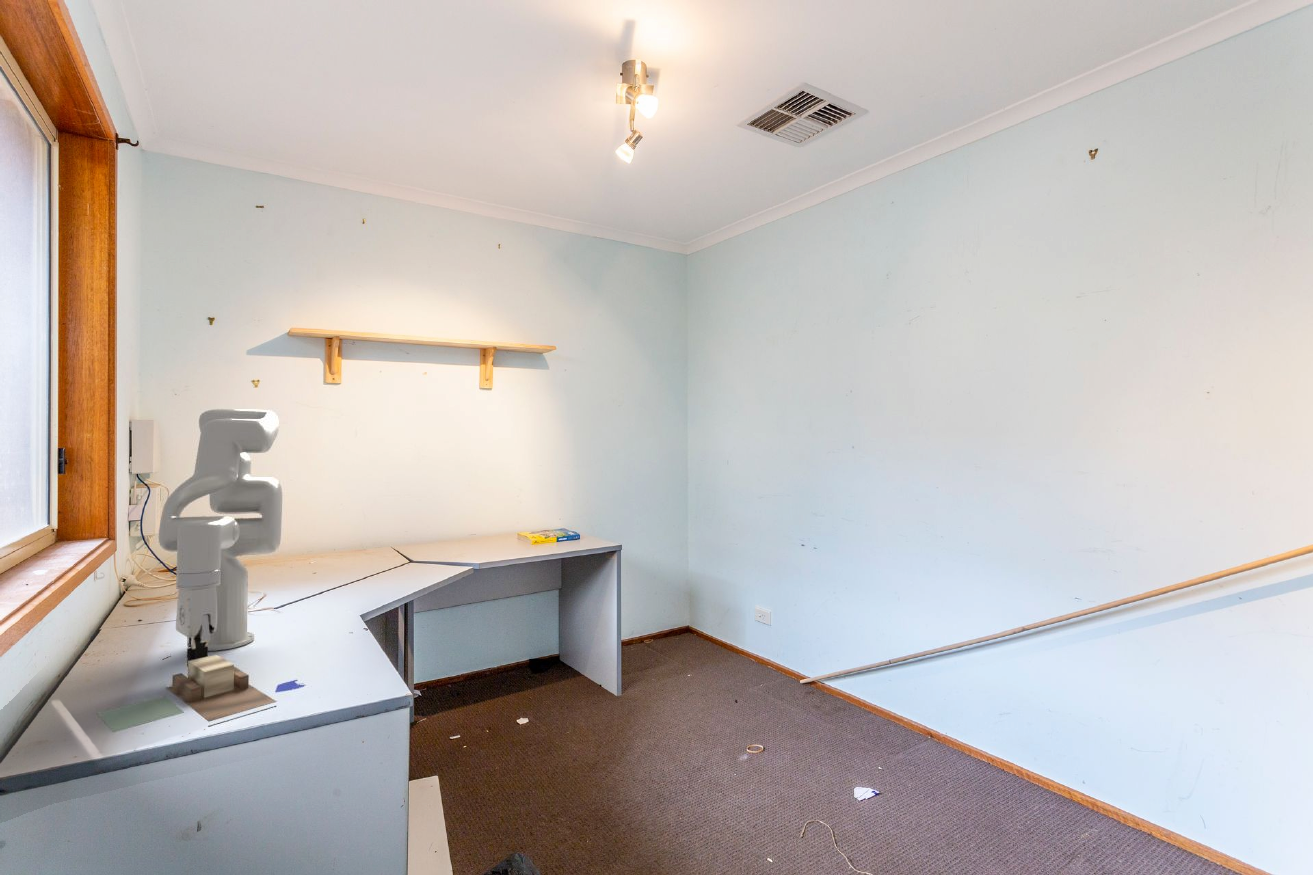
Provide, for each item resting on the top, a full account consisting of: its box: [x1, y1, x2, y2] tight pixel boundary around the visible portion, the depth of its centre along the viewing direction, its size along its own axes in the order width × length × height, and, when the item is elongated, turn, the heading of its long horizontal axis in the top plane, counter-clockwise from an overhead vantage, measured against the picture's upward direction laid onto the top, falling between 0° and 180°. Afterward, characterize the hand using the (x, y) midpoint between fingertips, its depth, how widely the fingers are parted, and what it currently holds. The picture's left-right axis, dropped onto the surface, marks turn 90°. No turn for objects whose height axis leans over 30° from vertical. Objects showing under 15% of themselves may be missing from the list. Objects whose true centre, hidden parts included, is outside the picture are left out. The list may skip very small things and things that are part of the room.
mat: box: [97, 695, 185, 733], centre depth 113 cm, size 12×10×1 cm
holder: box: [166, 666, 277, 728], centre depth 122 cm, size 25×11×4 cm, turn 52°
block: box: [187, 654, 235, 698], centre depth 125 cm, size 10×5×5 cm, turn 52°
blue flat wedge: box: [274, 679, 306, 694], centre depth 130 cm, size 2×8×12 cm
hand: (197, 665), depth 130 cm, fingers closed
